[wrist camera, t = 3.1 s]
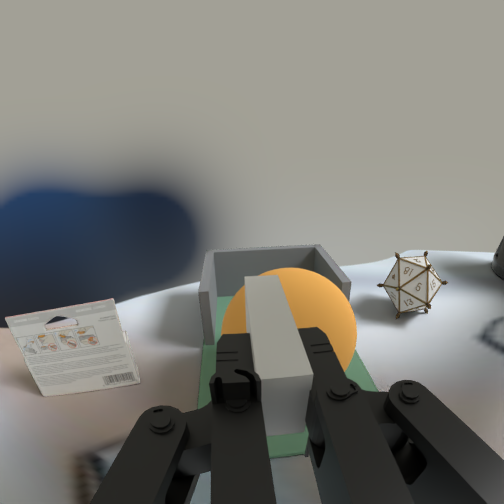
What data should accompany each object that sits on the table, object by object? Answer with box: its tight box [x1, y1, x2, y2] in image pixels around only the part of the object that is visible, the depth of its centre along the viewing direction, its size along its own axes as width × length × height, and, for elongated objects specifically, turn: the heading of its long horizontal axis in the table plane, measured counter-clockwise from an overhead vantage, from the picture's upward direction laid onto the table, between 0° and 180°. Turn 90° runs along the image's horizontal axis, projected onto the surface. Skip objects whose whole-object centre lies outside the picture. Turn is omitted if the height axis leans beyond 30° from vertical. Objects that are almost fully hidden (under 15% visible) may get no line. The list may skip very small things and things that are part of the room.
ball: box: [221, 268, 357, 372], centre depth 24 cm, size 11×11×11 cm
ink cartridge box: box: [5, 298, 140, 397], centre depth 23 cm, size 2×11×10 cm, turn 114°
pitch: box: [198, 245, 378, 458], centre depth 30 cm, size 16×27×7 cm, turn 4°
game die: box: [377, 251, 448, 319], centre depth 35 cm, size 9×8×10 cm
